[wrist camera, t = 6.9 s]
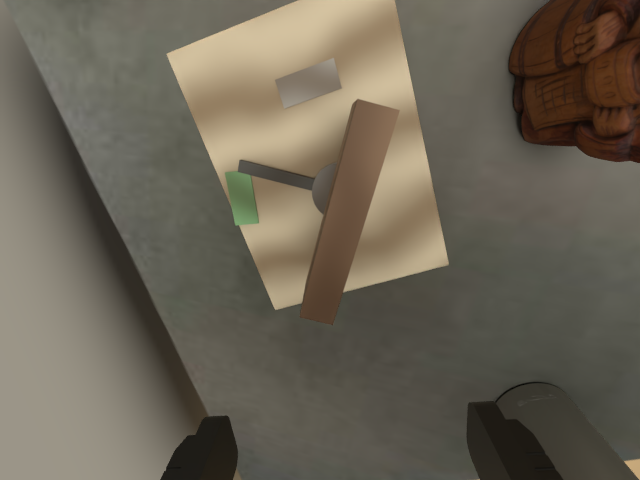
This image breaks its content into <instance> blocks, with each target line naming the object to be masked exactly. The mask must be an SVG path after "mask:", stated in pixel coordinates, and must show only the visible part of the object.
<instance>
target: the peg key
mask: <svg viewBox="0 0 640 480" xmlns="http://www.w3.org/2000/svg"><path fill="white" fill-rule="evenodd" d="M399 112H400V110H397V109H394V108H390V107H386V106H382V105H379V104H375V103H371V102H368V101H364V100H360V99H357V100H356V101H355V102H354V103H353V104H352V107H351V111H350V115H349V119H348V123H347V126H346V130H345V134H344V138H343V142H342V146H341V149H340V153H339V157H338V161H337V162H336V163H332V164H329V165H327V166H326V167H324V168H323V169H322V170H321V171H320V172H319V173H318V174H317V176H316V178H311V177H307V176H304V175H300V174H296V173H292V172H288V171H284V170H280V169H276V168H272V167H269V166H265V165H261V164H257V163H253V162H249V161H245V160H239V166H238V172H240V173H244V174H248V175H251V176H255V177H259V178H263V179H267V180H271V181H275V182H279V183H283V184H287V185H291V186H295V187H299V188H303V189H306V190H310V191H312V198H313V201H314V204H315V206H316V207H317V209H318V210H319V211H320V212H321V213H322V214H323V218H322V222H321V226H320V230H319V233H318V237H317V241H316V245H315V249H314V253H313V256H312V260H311V264H310V268H309V272H308V275H307V279H306V284H305V289H304V295H303V301H302V306H301V312H300V317H301V318H305V319H309V320H314V321H318V322H322V323H326V324H331V325H333V323H334V320H335V316H336V313H337V310H338V307H339V304H340V300H341V297H342V294H343V291H344V288H345V284H346V281H347V278H348V275H349V272H350V268H351V265H352V262H353V259H354V256H355V252H356V249H357V246H358V243H359V240H360V236H361V233H362V230H363V227H364V224H365V220H366V217H367V214H368V211H369V208H370V204H371V201H372V198H373V195H374V192H375V188H376V185H377V182H378V179H379V176H380V172H381V169H382V166H383V163H384V160H385V156H386V153H387V150H388V147H389V144H390V140H391V137H392V134H393V131H394V128H395V124H396V121H397V118H398V115H399Z"/></svg>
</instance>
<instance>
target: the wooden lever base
mask: <svg viewBox="0 0 640 480" xmlns="http://www.w3.org/2000/svg"><path fill="white" fill-rule="evenodd" d="M167 57H168V59H169V61H170V64H171V66H172V68H173V71H174V73H175V75H176V78H177V80H178V82H179V85H180V87H181V89H182V92H183V94H184V97H185V99H186V101H187V104H188V106H189V108H190V111H191V113H192V115H193V118H194V120H195V122H196V125H197V127H198V130H199V132H200V134H201V137H202V139H203V141H204V144H205V146H206V148H207V151H208V153H209V155H210V158H211V160H212V163H213V165H214V167H215V170H216V172H217V174H218V177H219V179H220V181H221V184H222V186H223V188H224V191H225V193H226V196H227V198H228V200H229V203H230V205H231V207H232V211H233V216H234V221H235V225H239V226H240V228H241V231H242V233H243V236H244V238H245V240H246V243H247V245H248V247H249V250H250V252H251V254H252V257H253V259H254V261H255V264H256V266H257V269H258V271H259V273H260V276H261V278H262V280H263V283H264V285H265V287H266V290H267V292H268V294H269V297H270V299H271V302H272V304H273V306H274V309H275V310H277V309H281V308H285V307H289V306H293V305H296V304H300V303H302V301H303V295H304V289H305V284H306V279H307V275H308V272H309V268H310V264H311V260H312V256H313V253H314V249H315V245H316V241H317V237H318V233H319V230H320V226H321V222H322V218H323V214H322V213H321V212H320V211H319V210H318V209H317V207H316V206H315V204H314V201H313V198H312V191H310V190H306V189H303V188H299V187H295V186H291V185H287V184H283V183H279V182H275V181H271V180H267V179H263V178H259V177H255V176H251V175H248V174H244V173H240V172H238V166H239V160H245V161H249V162H253V163H257V164H261V165H265V166H269V167H272V168H276V169H280V170H284V171H288V172H292V173H296V174H300V175H304V176H307V177H311V178H316V176H317V174H318V173H319V172H320V171H321V170H322V169H323V168H324V167H326V166H327V165H329V164H332V163H336V162H337V161H338V157H339V153H340V149H341V146H342V142H343V138H344V134H345V130H346V126H347V123H348V119H349V115H350V111H351V107H352V104H353V103H354V102H355V101H356V100H357V99H360V100H364V101H368V102H371V103H375V104H379V105H382V106H386V107H390V108H394V109H397V110H400V112H399V115H398V118H397V121H396V124H395V128H394V131H393V134H392V137H391V140H390V144H389V147H388V150H387V153H386V156H385V160H384V163H383V166H382V169H381V172H380V176H379V179H378V182H377V185H376V188H375V192H374V195H373V198H372V201H371V204H370V208H369V211H368V214H367V217H366V220H365V224H364V227H363V230H362V233H361V236H360V240H359V243H358V246H357V249H356V252H355V256H354V259H353V262H352V265H351V268H350V272H349V275H348V278H347V281H346V284H345V288H344V291H343V292H346V291H350V290H354V289H358V288H362V287H365V286H369V285H373V284H377V283H381V282H385V281H388V280H392V279H396V278H400V277H404V276H408V275H411V274H415V273H419V272H423V271H427V270H431V269H434V268H438V267H442V266H446V265H449V263H448V258H447V253H446V248H445V243H444V238H443V234H442V229H441V224H440V219H439V214H438V209H437V204H436V199H435V195H434V190H433V185H432V180H431V175H430V170H429V165H428V161H427V156H426V151H425V146H424V141H423V136H422V131H421V126H420V122H419V117H418V112H417V107H416V102H415V97H414V92H413V87H412V83H411V78H410V73H409V68H408V63H407V58H406V53H405V48H404V44H403V39H402V34H401V29H400V24H399V19H398V14H397V10H396V5H395V0H298V1H295V2H293V3H291V4H288V5H286V6H283V7H281V8H278V9H276V10H273V11H271V12H268V13H266V14H263V15H261V16H258V17H256V18H254V19H251V20H249V21H246V22H244V23H241V24H239V25H236V26H234V27H231V28H229V29H226V30H224V31H222V32H219V33H217V34H214V35H212V36H209V37H207V38H204V39H202V40H199V41H197V42H194V43H192V44H189V45H187V46H185V47H182V48H180V49H177V50H175V51H172V52H170V53H167Z"/></svg>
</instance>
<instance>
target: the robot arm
mask: <svg viewBox="0 0 640 480" xmlns="http://www.w3.org/2000/svg"><path fill="white" fill-rule="evenodd" d="M467 444H468V449H469V453H470V456H471V459H472V461H473V464H474V466H475V468H476V471H477V473H478V476H479V478H480V480H639V479H638V478H637V477H636V476H635V474H634V473H633V472H632V471H631V470H630V468H629V467H628V466H627V465H626V464H625V462H624V461H623V460H622V459H621V458H620V457H619V455H618V454H617V453H616V452H615V451H614V450H613V448H612V447H611V446H610V445H609V444H608V442H607V441H606V440H605V439H604V438H603V437H602V435H601V434H600V433H599V432H598V431H597V430H596V428H595V427H594V426H593V425H592V424H591V422H590V421H589V420H588V419H587V418H586V417H585V415H584V414H583V413H582V412H581V411H580V410H579V408H578V407H577V406H576V405H575V404H574V403H573V401H572V400H571V399H570V398H569V397H568V396H567V394H566V393H565V392H564V391H562V390H561V389H560V388H558V387H555V386H553V385H549V384H545V383H533V384H526V385H522V386H519V387H516V388H514V389H512V390H510V391H509V392H507V393H505V394H504V395H503V396H502V397H501V398H500V399H499V400H498V401H497V402H496V403H495V402H494V401H486V402H470V403H469V404H468V416H467ZM237 459H238V450H237V445H236V441H235V437H234V434H233V430H232V427H231V423H230V420H229V417H228V416H211V417H205V418H204V419H203V420H202V422H201V424H200V426H199V429H198V431H197V433H196V435H189V436H187V437H186V439H184V441H183V442H182V443H181V444H180V445H179V446H178V447H177V449H176V450H175V451H174V453H173V455H172V457H171V459H170V461H169V463H168V466H167V467H166V471H164V473H163V476H162V477H161V479H160V480H233V477H234V474H235V470H236V466H237Z"/></svg>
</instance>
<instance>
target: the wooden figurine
mask: <svg viewBox="0 0 640 480" xmlns="http://www.w3.org/2000/svg"><path fill="white" fill-rule="evenodd" d="M509 70H510V71H511V72H512V73H513V74H515V75H516V82H515V87H514V108H515V111H516V112H517V113H519V114H521V115H522V118H521V124H522V134H523V136H524V140H525V141H527V142H529V143H533V144H540V145H550V146H577V147H578V148H579V149H580V150H581V151H582V152H583V153H585V154H586V155H588V156H591V157H594V158H598V159H603V160H608V161H614V162H624V161H633V162H637V163H640V0H551V1H549V2H548V3H547V4H546V5H544V6H543V7H542V8H541V9H540V10H539V11H538V12H537V13H536V14H535V15H534V16H533V17H532V18H531V19H530V21H529V22H528V23H527V25H526V26H525V27H524V29H523V30H522V31H521V33H520V35H519V36H518V38H517V40H516V42H515V44H514V46H513V49H512V52H511V55H510V60H509Z"/></svg>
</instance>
